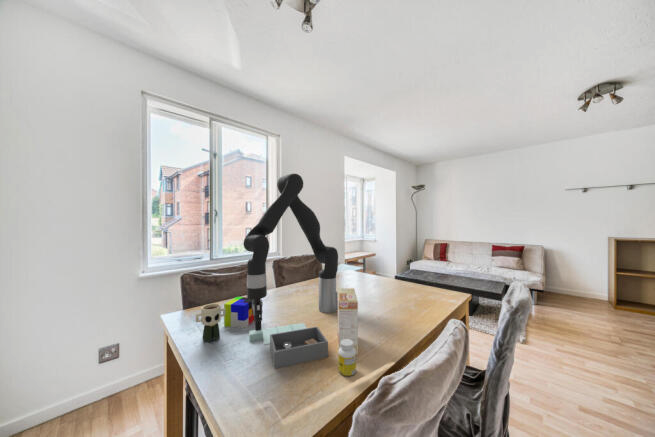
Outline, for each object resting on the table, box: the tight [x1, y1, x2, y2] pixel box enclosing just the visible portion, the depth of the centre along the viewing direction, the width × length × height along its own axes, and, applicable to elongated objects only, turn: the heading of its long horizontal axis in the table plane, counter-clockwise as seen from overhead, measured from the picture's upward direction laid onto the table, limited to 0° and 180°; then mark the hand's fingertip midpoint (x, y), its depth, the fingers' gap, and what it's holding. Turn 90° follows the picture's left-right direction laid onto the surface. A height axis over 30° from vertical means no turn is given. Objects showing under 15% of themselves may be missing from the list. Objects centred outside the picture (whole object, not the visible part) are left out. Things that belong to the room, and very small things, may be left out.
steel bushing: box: [283, 342, 292, 349], centre depth 83 cm, size 3×3×3 cm
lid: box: [248, 322, 308, 346], centre depth 96 cm, size 24×13×3 cm, turn 110°
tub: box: [269, 326, 329, 370], centre depth 83 cm, size 18×12×6 cm, turn 110°
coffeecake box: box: [337, 287, 359, 355], centre depth 89 cm, size 15×7×20 cm, turn 178°
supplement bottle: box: [338, 339, 357, 378], centre depth 73 cm, size 5×5×10 cm
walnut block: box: [304, 339, 318, 345], centre depth 83 cm, size 4×4×4 cm
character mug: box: [195, 303, 226, 343], centre depth 94 cm, size 11×7×13 cm, turn 127°
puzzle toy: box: [223, 296, 255, 329], centre depth 109 cm, size 10×10×10 cm
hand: (257, 325), depth 93 cm, fingers open, 8 cm apart
